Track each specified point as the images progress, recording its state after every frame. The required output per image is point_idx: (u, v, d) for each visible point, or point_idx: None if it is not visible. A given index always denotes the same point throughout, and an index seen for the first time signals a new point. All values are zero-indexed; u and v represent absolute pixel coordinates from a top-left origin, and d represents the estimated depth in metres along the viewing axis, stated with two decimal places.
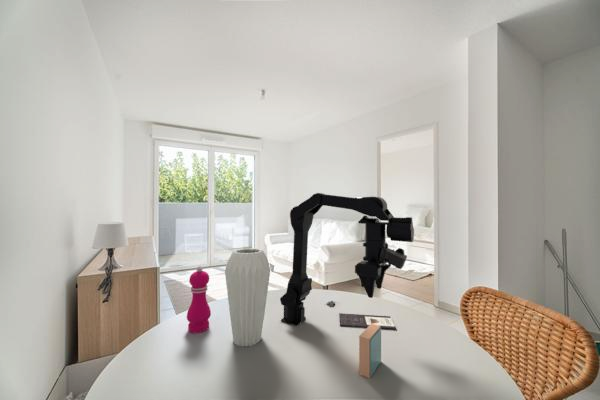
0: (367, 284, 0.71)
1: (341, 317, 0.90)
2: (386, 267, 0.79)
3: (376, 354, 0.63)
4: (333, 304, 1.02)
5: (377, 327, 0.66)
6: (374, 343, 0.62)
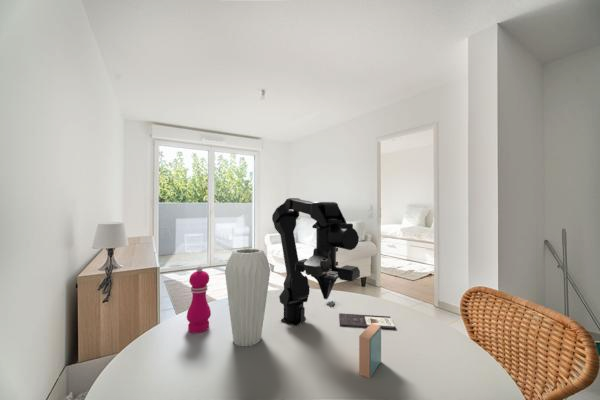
0: None
1: (341, 317, 0.90)
2: None
3: (376, 354, 0.63)
4: (333, 304, 1.02)
5: (377, 327, 0.66)
6: (374, 343, 0.62)
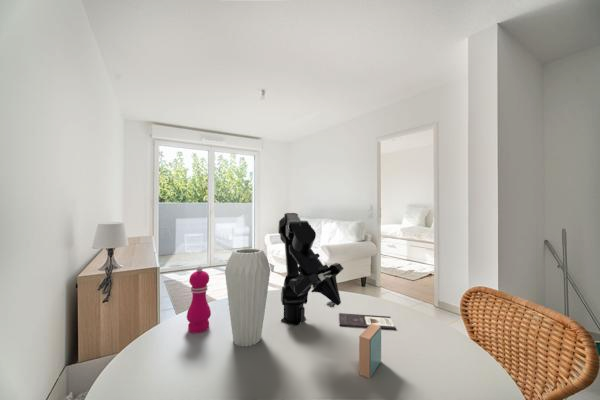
0: None
1: (341, 317, 0.90)
2: None
3: (376, 354, 0.63)
4: (333, 304, 1.02)
5: (377, 327, 0.66)
6: (374, 343, 0.62)
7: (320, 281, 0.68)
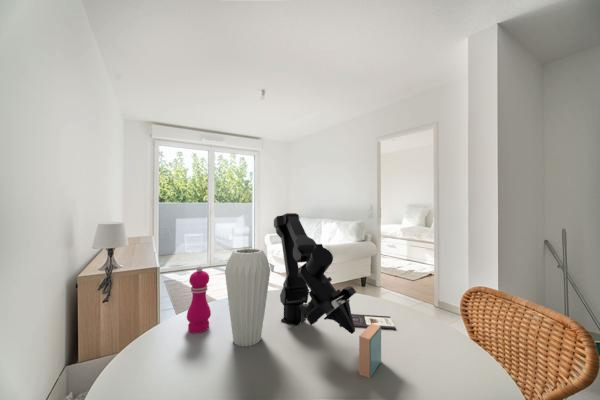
0: None
1: None
2: None
3: (376, 354, 0.63)
4: None
5: (377, 327, 0.66)
6: (374, 343, 0.62)
7: (333, 308, 0.66)
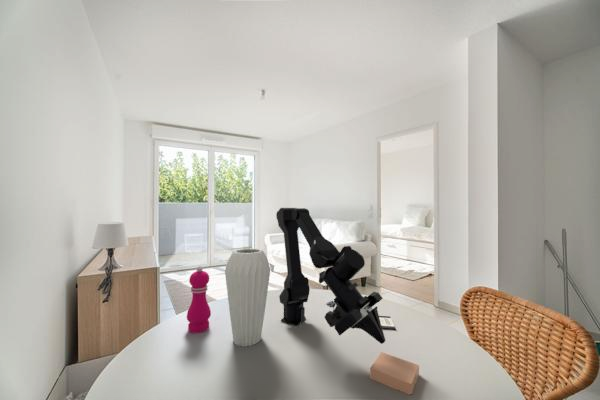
0: None
1: None
2: None
3: None
4: (333, 304, 1.02)
5: (418, 376, 0.60)
6: None
7: (362, 317, 0.61)
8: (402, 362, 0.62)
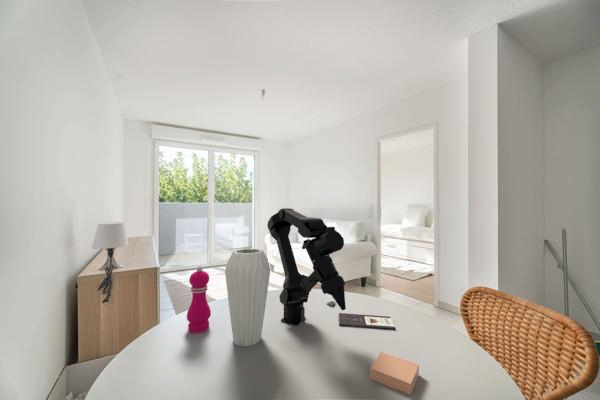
0: None
1: (340, 317, 0.90)
2: None
3: None
4: (334, 304, 1.02)
5: (417, 376, 0.60)
6: None
7: None
8: (402, 361, 0.62)
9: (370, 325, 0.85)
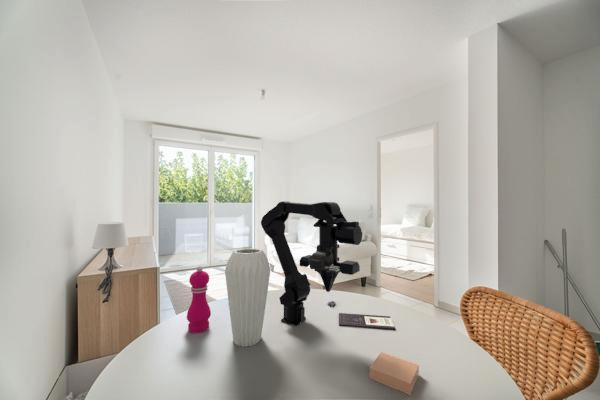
0: None
1: (340, 317, 0.91)
2: None
3: None
4: (334, 304, 1.02)
5: (417, 376, 0.60)
6: None
7: None
8: (402, 361, 0.62)
9: (370, 325, 0.85)
